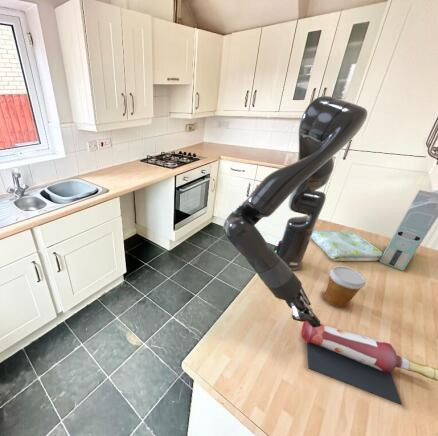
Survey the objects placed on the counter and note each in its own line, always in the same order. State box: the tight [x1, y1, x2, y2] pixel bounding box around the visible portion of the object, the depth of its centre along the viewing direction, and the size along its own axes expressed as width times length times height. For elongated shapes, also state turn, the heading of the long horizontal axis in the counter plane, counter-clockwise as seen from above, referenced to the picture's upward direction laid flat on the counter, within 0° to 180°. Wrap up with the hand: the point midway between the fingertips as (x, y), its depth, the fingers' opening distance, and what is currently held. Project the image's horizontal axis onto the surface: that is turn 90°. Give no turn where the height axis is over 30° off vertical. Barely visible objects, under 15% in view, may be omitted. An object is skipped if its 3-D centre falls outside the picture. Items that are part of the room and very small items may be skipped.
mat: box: [306, 343, 403, 405], centre depth 66 cm, size 19×12×1 cm, turn 63°
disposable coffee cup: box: [324, 265, 366, 309], centre depth 82 cm, size 10×10×12 cm
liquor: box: [301, 321, 438, 382], centre depth 65 cm, size 7×7×28 cm
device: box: [378, 189, 438, 272], centre depth 97 cm, size 16×8×30 cm, turn 129°
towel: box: [310, 230, 383, 262], centre depth 110 cm, size 18×21×5 cm
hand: (316, 324), depth 65 cm, fingers closed
